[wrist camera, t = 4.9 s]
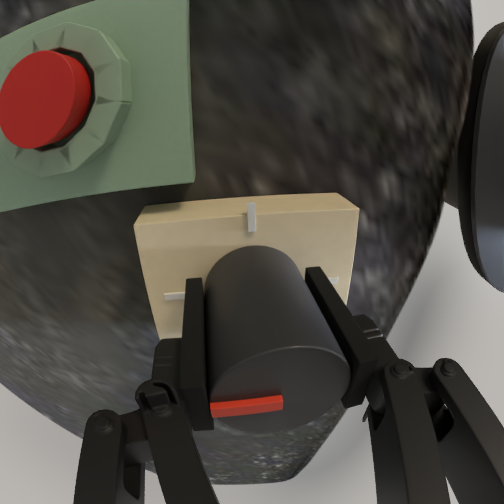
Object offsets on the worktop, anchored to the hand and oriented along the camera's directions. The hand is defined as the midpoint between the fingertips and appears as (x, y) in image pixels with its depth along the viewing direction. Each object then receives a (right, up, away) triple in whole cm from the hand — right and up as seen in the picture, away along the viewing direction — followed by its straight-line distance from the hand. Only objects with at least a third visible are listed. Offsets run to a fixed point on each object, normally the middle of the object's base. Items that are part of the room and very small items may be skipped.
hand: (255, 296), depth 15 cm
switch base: (-9, +10, -2) cm, 14 cm away
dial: (0, 0, +1) cm, 1 cm away
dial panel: (0, +2, +3) cm, 4 cm away
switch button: (-9, +9, -5) cm, 14 cm away
